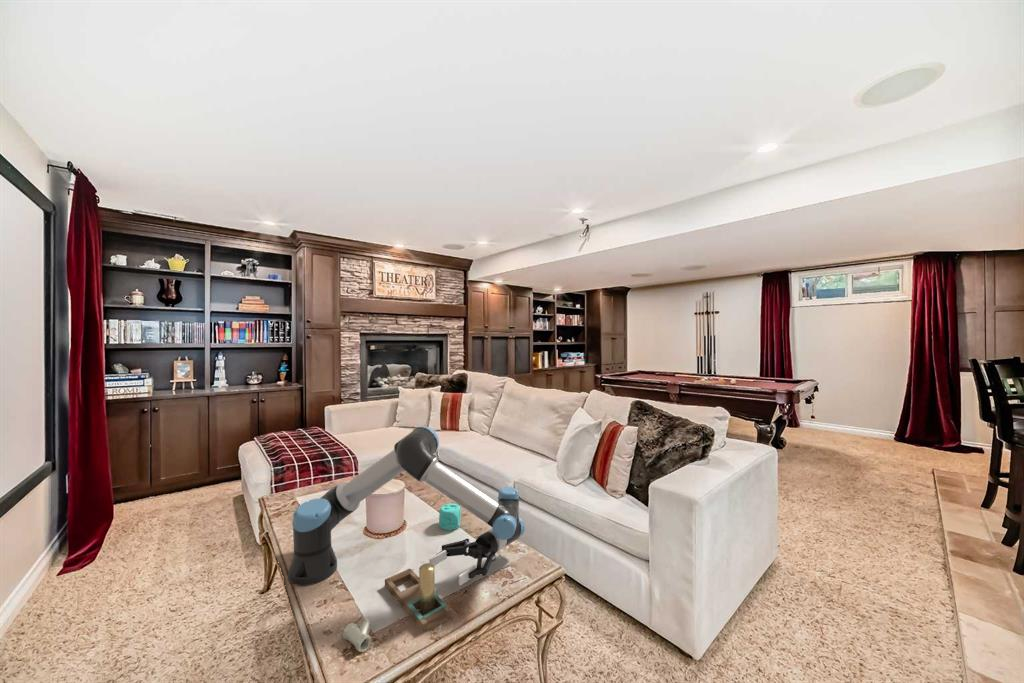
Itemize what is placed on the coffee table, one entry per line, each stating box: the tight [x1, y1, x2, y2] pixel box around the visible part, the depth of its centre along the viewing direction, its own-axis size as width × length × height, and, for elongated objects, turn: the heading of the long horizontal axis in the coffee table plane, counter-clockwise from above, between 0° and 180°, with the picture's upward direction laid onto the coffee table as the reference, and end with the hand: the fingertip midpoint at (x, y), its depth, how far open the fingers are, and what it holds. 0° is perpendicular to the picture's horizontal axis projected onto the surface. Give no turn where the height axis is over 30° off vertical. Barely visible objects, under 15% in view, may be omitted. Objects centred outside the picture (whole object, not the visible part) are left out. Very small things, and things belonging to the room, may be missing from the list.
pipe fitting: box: [342, 619, 372, 653], centre depth 109 cm, size 8×4×7 cm
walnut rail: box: [384, 568, 452, 634], centre depth 123 cm, size 26×9×3 cm, turn 41°
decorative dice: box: [438, 503, 462, 531], centre depth 170 cm, size 8×8×8 cm
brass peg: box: [418, 562, 436, 616], centre depth 118 cm, size 4×4×14 cm
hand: (444, 571), depth 122 cm, fingers open, 13 cm apart
